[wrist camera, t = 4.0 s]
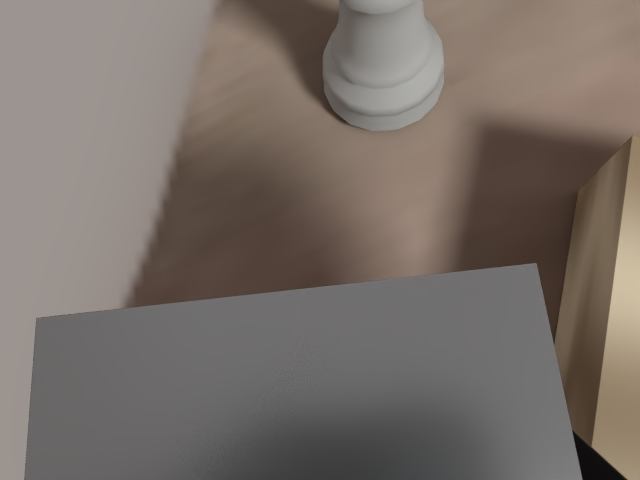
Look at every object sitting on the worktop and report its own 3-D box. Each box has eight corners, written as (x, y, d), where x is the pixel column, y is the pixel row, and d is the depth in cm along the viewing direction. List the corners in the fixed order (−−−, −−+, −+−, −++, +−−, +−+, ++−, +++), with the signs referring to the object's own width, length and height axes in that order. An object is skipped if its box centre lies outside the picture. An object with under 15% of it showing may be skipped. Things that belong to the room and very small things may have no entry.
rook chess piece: (337, 150, 19) (299, -11, 11) (314, 50, 20) (265, -156, 12) (458, 120, 18) (505, -68, 11) (425, 21, 19) (447, -211, 12)
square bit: (448, 493, 15) (722, 1040, 3) (309, 502, 15) (-29, 1004, 3) (427, 350, 16) (546, 248, 4) (299, 362, 17) (26, 308, 4)
